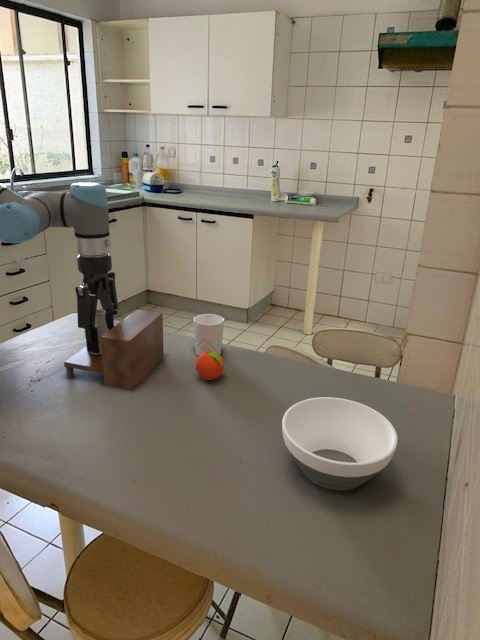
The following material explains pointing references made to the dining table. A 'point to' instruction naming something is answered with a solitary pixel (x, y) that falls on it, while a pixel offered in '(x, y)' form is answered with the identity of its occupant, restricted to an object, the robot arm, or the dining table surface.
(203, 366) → the clementine
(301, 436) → the bowl
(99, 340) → the flask
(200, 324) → the white cup
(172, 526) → the dining table surface
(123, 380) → the shelf
